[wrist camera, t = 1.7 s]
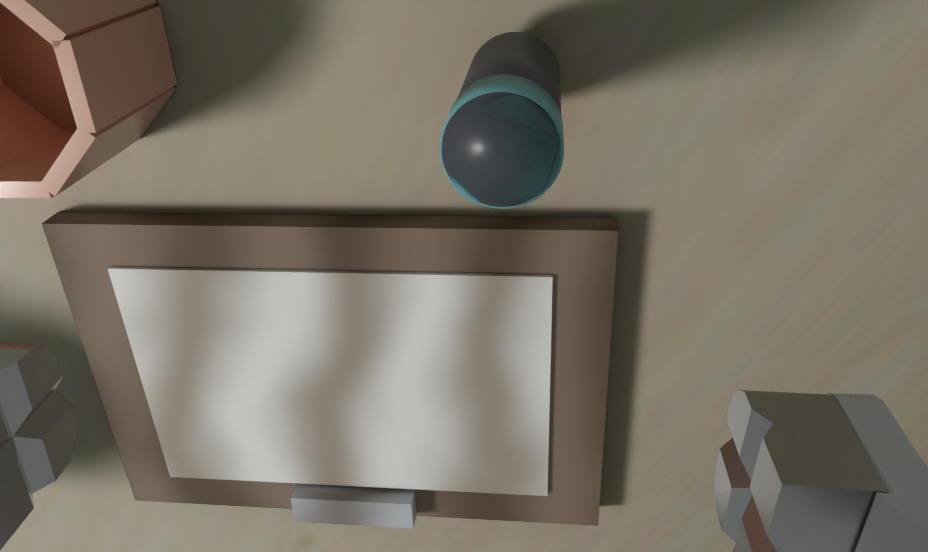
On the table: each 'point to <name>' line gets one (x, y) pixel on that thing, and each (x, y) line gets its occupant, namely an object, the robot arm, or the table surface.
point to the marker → (506, 124)
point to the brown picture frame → (350, 359)
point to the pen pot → (76, 87)
